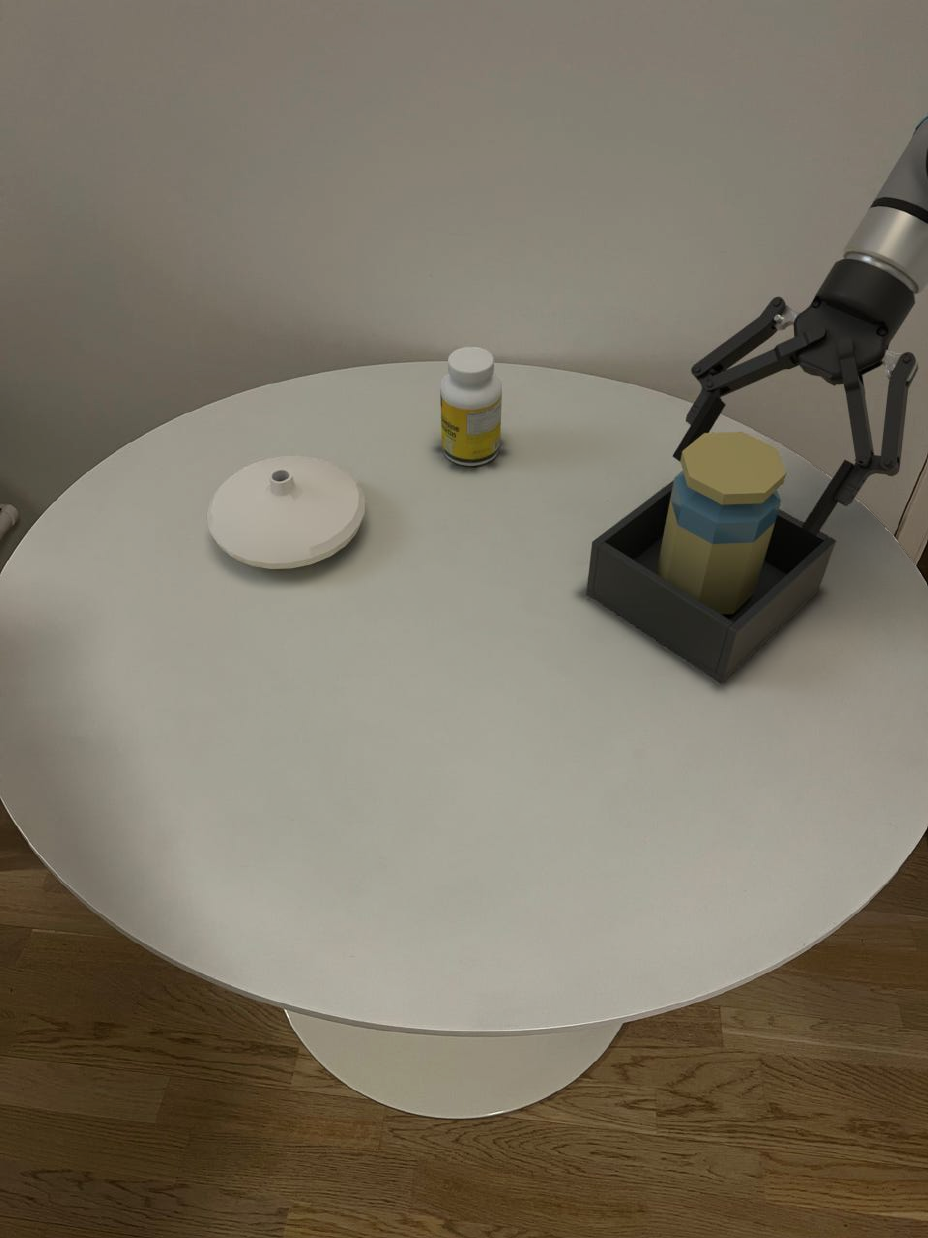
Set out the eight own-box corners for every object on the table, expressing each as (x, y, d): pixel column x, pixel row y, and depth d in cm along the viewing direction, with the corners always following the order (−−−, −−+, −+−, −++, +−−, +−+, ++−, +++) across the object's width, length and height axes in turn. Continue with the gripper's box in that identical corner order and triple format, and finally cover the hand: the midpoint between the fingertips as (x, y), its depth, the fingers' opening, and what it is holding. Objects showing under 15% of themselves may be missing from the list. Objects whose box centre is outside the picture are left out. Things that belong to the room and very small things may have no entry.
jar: (743, 633, 91) (781, 508, 80) (644, 608, 93) (667, 483, 82) (760, 566, 97) (797, 441, 86) (666, 543, 99) (690, 419, 88)
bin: (818, 592, 95) (837, 540, 90) (721, 683, 88) (736, 632, 83) (685, 515, 103) (695, 462, 98) (585, 593, 96) (591, 541, 91)
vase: (182, 562, 99) (166, 508, 94) (259, 466, 109) (248, 412, 104) (326, 602, 95) (317, 548, 90) (392, 499, 105) (388, 445, 100)
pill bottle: (443, 431, 113) (440, 340, 104) (500, 432, 113) (502, 341, 104) (440, 468, 108) (437, 376, 100) (500, 469, 108) (502, 377, 100)
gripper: (1022, 349, 83) (875, 570, 87) (764, 245, 95) (645, 444, 99) (1019, 316, 76) (860, 557, 80) (743, 210, 88) (616, 424, 92)
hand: (741, 495), depth 89 cm, fingers open, 13 cm apart
